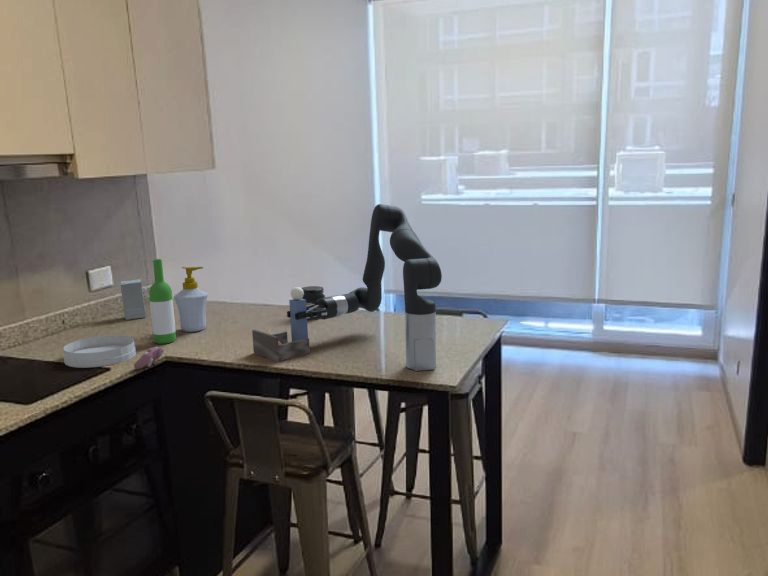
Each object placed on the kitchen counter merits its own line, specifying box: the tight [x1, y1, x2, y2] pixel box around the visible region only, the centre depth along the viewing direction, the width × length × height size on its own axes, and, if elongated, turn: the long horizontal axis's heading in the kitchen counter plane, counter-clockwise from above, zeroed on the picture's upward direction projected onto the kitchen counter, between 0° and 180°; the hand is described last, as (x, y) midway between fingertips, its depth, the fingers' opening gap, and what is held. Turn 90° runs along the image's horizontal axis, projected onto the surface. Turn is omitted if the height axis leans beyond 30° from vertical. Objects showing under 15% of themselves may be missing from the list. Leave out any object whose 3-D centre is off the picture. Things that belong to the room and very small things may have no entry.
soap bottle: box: [173, 266, 209, 333], centre depth 246 cm, size 13×13×25 cm
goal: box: [251, 329, 311, 363], centre depth 213 cm, size 13×14×8 cm
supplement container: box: [301, 285, 326, 320], centre depth 263 cm, size 10×10×12 cm
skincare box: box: [119, 279, 147, 321], centre depth 269 cm, size 8×7×16 cm
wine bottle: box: [148, 258, 177, 345], centre depth 229 cm, size 8×8×30 cm
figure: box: [288, 286, 309, 342], centre depth 217 cm, size 4×4×20 cm
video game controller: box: [133, 345, 164, 370], centre depth 204 cm, size 10×5×7 cm, turn 170°
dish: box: [62, 334, 137, 369], centre depth 214 cm, size 22×22×5 cm
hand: (291, 315), depth 215 cm, fingers closed on figure, 4 cm apart
